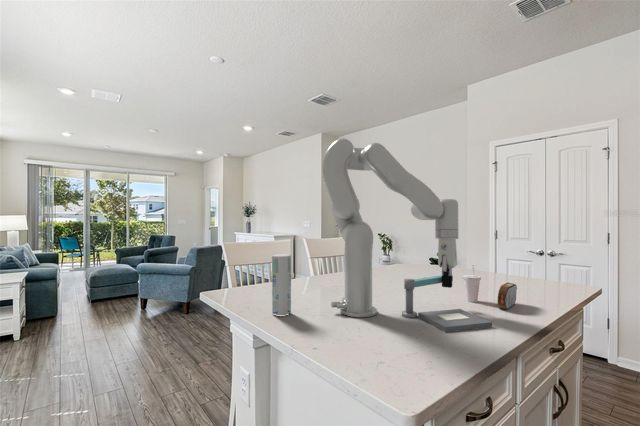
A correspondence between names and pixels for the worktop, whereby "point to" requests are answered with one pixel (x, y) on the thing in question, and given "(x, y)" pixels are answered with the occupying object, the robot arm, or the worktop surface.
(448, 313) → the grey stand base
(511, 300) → the tin
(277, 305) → the spray can
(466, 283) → the smoothie
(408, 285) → the swing bar
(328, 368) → the worktop surface
